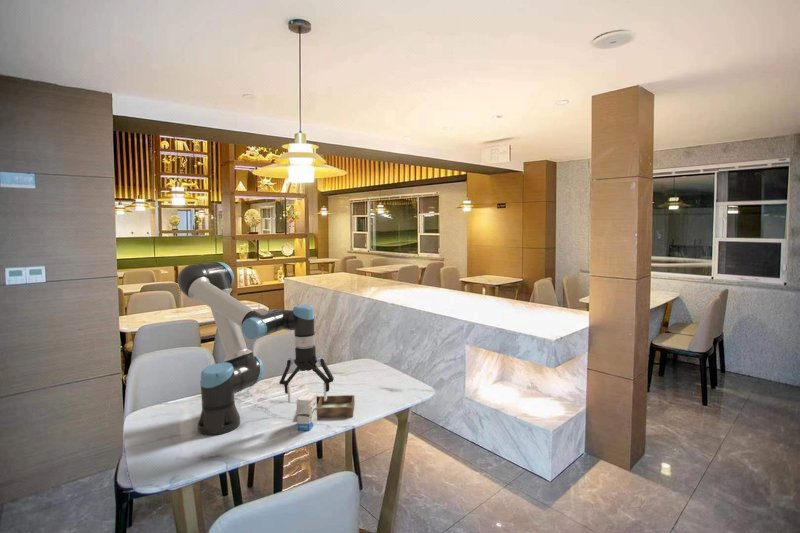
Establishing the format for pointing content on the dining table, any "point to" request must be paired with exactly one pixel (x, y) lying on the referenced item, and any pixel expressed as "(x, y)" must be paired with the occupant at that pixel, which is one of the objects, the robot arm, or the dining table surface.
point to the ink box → (306, 411)
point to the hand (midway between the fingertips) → (307, 400)
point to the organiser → (335, 406)
